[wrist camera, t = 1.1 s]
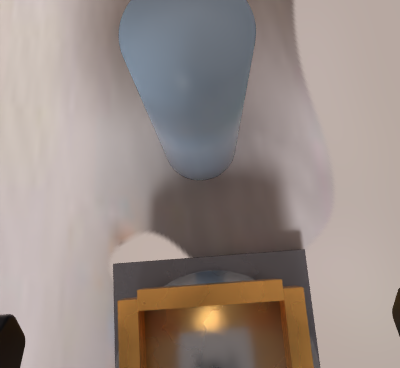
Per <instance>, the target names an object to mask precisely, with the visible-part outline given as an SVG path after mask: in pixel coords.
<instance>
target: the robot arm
mask: <svg viewBox="0 0 400 368" xmlns="http://www.w3.org/2000/svg"><path fill="white" fill-rule="evenodd" d="M392 314H393V319H394V322H395V325H396V327H397V330H398V333H399V336H400V288H399V289H398V292H397V296H396V299H395V302H394V305H393V309H392ZM24 347H25V336H24V333H23V331H22V329H21V328H20V326H19V324H18V322H17V320H16V318H15V317H14V316H13V315H11V314H6V315H0V368H20V365H21V361H22V356H23V352H24Z"/></svg>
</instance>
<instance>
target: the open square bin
mask: <svg viewBox="0 0 400 368" xmlns="http://www.w3.org/2000/svg"><path fill="white" fill-rule="evenodd" d="M113 279H114V324H115V368H320V362H319V354H318V347H317V339H316V332H315V324H314V317H313V309H312V302H311V294H310V286H309V279H308V271H307V264H306V256H305V249H304V250H290V251H277V252H264V253H250V254H237V255H224V256H211V257H197V258H184V259H171V260H159V261H145V262H131V263H119V264H113Z"/></svg>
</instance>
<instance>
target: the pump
mask: <svg viewBox="0 0 400 368" xmlns="http://www.w3.org/2000/svg"><path fill="white" fill-rule="evenodd" d="M255 38H256V24H255V19H254V15H253V13H252V10H251V8H250V6H249V4H248V2H247V1H246V0H131V1H130V2H129V4H128V5H127V7H126V9H125V11H124V13H123V15H122V18H121V21H120V26H119V45H120V49H121V53H122V55H123V58H124V60H125V62H126V65H127V67H128V69H129V72H130V74H131V76H132V78H133V81H134V83H135V85H136V88H137V90H138V92H139V95H140V97H141V99H142V102H143V104H144V106H145V108H146V111H147V113H148V115H149V118H150V120H151V122H152V125H153V127H154V129H155V131H156V134H157V136H158V138H159V141H160V143H161V145H162V148H163V150H164V152H165V154H166V157H167V159H168V161H169V163H170V165H171V166H172V167H173V169H174V170H175V171H176V172H178V173H179V174H180V175H182V176H184V177H186V178H189V179H193V180H207V179H211V178H214V177H216V176H218V175H219V174H221V173H222V172H224V171H225V170H226V169H227V168H228V166H229V165H230V163H231V162H232V160H233V157H234V153H235V149H236V143H237V138H238V132H239V127H240V121H241V116H242V110H243V105H244V99H245V94H246V88H247V83H248V77H249V72H250V67H251V61H252V56H253V50H254V45H255Z"/></svg>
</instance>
